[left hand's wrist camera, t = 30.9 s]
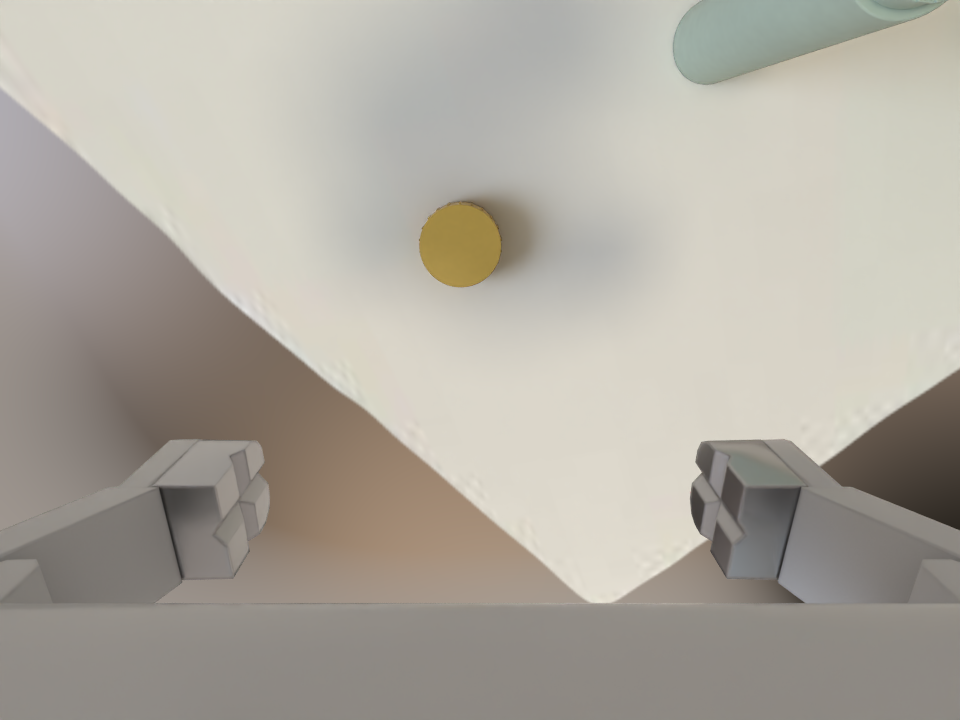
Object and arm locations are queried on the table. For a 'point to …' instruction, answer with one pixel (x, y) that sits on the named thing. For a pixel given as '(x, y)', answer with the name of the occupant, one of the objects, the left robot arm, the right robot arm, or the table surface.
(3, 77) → the table surface
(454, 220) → the lid
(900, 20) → the pale green cylinder
